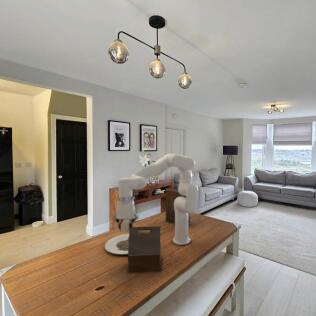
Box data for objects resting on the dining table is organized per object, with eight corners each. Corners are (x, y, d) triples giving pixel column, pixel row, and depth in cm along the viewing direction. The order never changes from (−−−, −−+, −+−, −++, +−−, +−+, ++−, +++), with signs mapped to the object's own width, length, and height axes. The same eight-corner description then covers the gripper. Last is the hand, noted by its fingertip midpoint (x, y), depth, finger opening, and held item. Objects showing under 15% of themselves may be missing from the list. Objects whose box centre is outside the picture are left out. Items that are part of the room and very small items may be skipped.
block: (122, 228, 115) (122, 221, 115) (130, 228, 115) (130, 221, 115) (120, 232, 110) (120, 224, 110) (128, 231, 111) (128, 224, 111)
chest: (132, 258, 116) (132, 244, 115) (160, 257, 117) (161, 243, 117) (128, 272, 103) (128, 255, 102) (159, 270, 104) (160, 254, 104)
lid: (129, 227, 106) (128, 227, 101) (160, 226, 108) (160, 226, 103) (128, 254, 103) (126, 257, 98) (160, 253, 104) (159, 255, 99)
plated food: (100, 259, 114) (100, 253, 114) (109, 237, 143) (109, 232, 143) (152, 253, 121) (152, 248, 121) (150, 234, 150) (150, 229, 150)
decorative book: (189, 224, 171) (190, 190, 170) (185, 227, 165) (185, 191, 164) (169, 219, 184) (169, 187, 183) (164, 221, 178) (164, 188, 177)
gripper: (141, 197, 117) (141, 227, 117) (112, 197, 115) (112, 228, 116) (139, 200, 109) (139, 232, 110) (108, 200, 107) (108, 233, 108)
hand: (125, 229), depth 113 cm, fingers closed on block, 4 cm apart
